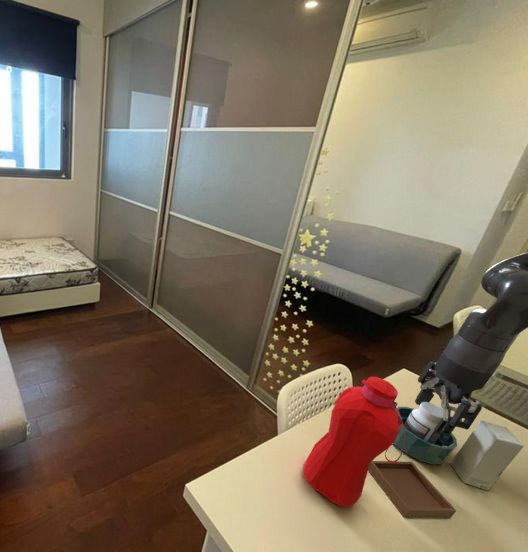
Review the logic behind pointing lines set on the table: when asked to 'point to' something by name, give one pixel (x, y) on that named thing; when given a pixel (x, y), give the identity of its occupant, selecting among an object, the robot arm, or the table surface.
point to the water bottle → (354, 440)
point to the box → (486, 454)
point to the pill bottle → (425, 421)
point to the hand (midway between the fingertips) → (429, 418)
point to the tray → (410, 490)
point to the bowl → (423, 443)
